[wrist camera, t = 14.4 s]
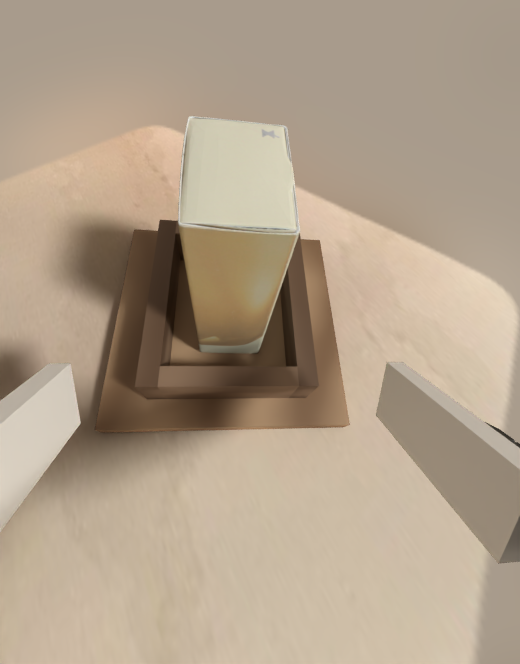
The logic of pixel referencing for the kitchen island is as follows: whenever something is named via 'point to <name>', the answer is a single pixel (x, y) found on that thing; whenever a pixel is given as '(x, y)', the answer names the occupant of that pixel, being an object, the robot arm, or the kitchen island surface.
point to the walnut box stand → (218, 368)
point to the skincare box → (235, 227)
